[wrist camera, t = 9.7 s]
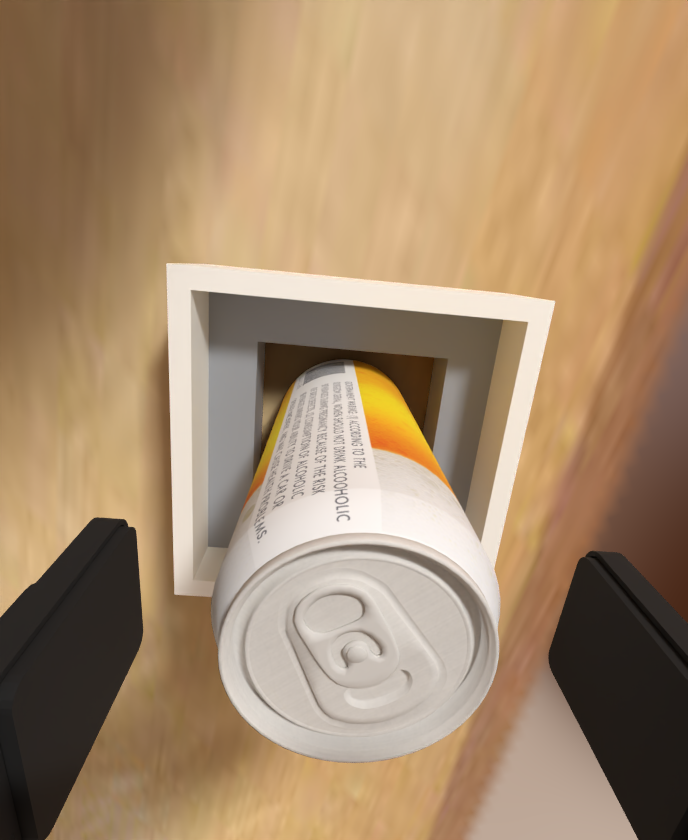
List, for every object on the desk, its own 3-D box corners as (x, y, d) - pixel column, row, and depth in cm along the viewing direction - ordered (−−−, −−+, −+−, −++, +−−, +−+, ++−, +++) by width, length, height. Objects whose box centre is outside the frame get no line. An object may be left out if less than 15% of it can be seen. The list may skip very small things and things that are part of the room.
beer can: (314, 491, 24) (288, 812, 10) (259, 388, 22) (130, 601, 8) (422, 444, 24) (560, 717, 9) (374, 334, 22) (453, 464, 7)
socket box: (204, 263, 21) (166, 263, 16) (505, 293, 21) (555, 301, 17) (204, 531, 25) (174, 594, 20) (455, 549, 25) (483, 613, 21)
